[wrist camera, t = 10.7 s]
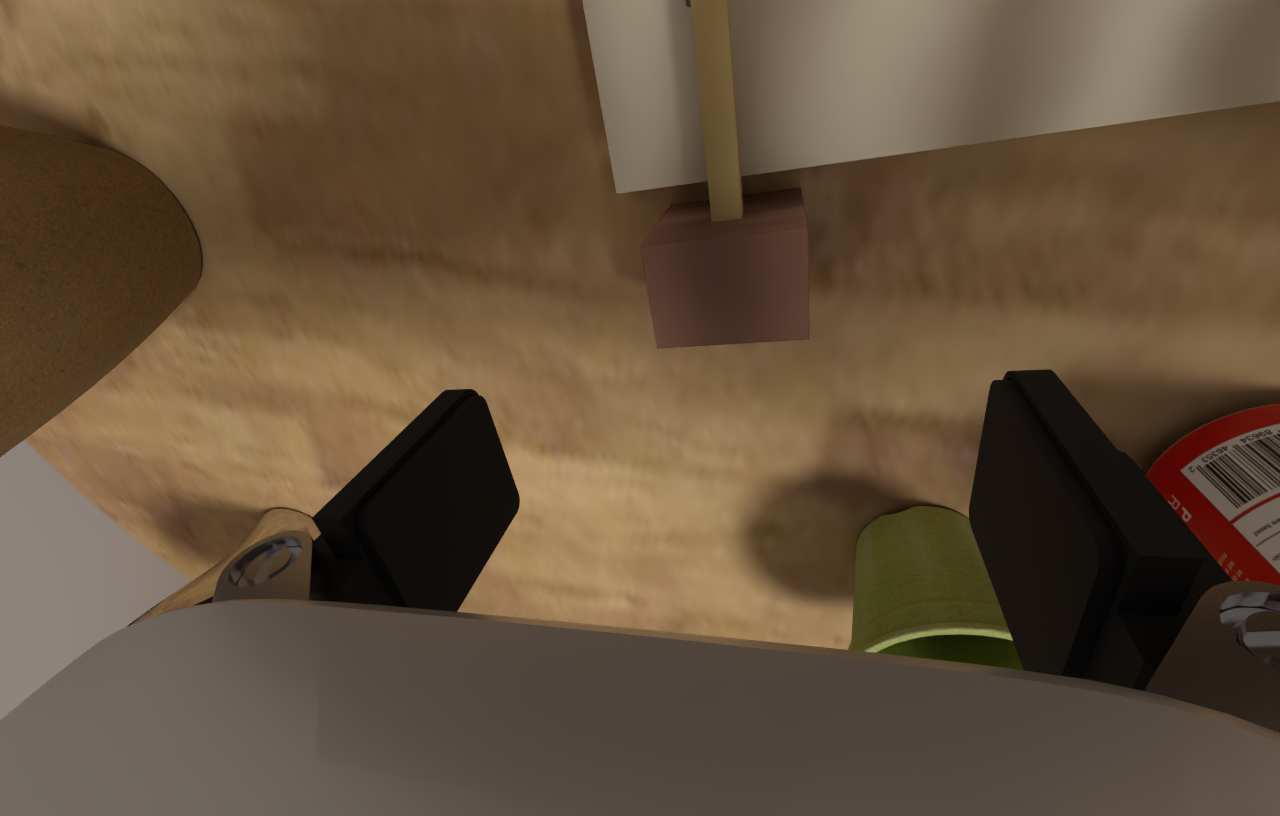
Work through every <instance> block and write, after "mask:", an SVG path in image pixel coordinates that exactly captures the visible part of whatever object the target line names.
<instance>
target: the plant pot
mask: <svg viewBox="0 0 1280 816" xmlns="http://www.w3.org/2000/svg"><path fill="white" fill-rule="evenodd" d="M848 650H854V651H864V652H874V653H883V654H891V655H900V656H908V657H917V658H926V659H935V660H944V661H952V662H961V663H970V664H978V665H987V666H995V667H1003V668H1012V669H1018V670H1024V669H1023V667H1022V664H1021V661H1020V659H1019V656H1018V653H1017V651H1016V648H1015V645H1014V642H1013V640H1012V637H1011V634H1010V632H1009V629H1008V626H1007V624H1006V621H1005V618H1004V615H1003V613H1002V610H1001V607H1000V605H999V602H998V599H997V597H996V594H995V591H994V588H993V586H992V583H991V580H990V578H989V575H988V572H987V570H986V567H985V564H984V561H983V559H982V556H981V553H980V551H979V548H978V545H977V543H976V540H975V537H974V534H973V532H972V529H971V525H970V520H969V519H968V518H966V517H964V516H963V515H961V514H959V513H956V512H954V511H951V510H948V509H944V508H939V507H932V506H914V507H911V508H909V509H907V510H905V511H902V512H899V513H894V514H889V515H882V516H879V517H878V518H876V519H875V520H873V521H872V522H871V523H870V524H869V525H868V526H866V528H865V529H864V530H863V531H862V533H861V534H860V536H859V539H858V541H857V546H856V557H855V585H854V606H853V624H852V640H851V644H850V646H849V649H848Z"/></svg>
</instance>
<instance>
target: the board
mask: <svg viewBox="0 0 1280 816" xmlns="http://www.w3.org/2000/svg"><path fill="white" fill-rule="evenodd" d="M582 2H583V7H584V13H585V19H586V24H587V30H588V36H589V41H590V47H591V53H592V58H593V64H594V70H595V75H596V81H597V87H598V92H599V98H600V104H601V109H602V115H603V121H604V126H605V132H606V137H607V143H608V149H609V154H610V160H611V166H612V171H613V177H614V183H615V188H616V194H619V193H627V192H634V191H641V190H648V189H655V188H662V187H670V186H677V185H684V184H691V183H698V182H705V181H708V179H707V169H706V158H705V148H704V137H703V127H702V117H701V106H700V96H699V86H698V75H697V65H696V54H695V44H694V34H693V23H692V13H691V7H687V6H686V1H685V0H582ZM729 6H730V21H731V36H732V51H733V66H734V80H735V95H736V110H737V125H738V139H739V154H740V169H741V176H748V175H756V174H763V173H770V172H777V171H784V170H791V169H799V168H806V167H813V166H820V165H827V164H834V163H842V162H849V161H856V160H863V159H870V158H877V157H885V156H892V155H899V154H906V153H913V152H920V151H928V150H935V149H942V148H949V147H956V146H963V145H971V144H978V143H985V142H992V141H999V140H1006V139H1013V138H1021V137H1028V136H1035V135H1042V134H1049V133H1056V132H1064V131H1071V130H1078V129H1085V128H1092V127H1099V126H1107V125H1114V124H1121V123H1128V122H1135V121H1142V120H1150V119H1157V118H1164V117H1171V116H1178V115H1185V114H1193V113H1200V112H1207V111H1214V110H1221V109H1228V108H1236V107H1243V106H1250V105H1257V104H1264V103H1271V102H1279V101H1280V0H729Z"/></svg>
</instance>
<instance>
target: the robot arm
mask: <svg viewBox="0 0 1280 816" xmlns="http://www.w3.org/2000/svg"><path fill="white" fill-rule="evenodd" d="M519 503H520V499H519V493H518V490H517V488H516V485H515V482H514V479H513V476H512V473H511V471H510V468H509V465H508V462H507V459H506V456H505V454H504V451H503V448H502V445H501V442H500V439H499V437H498V434H497V431H496V428H495V425H494V422H493V419H492V417H491V414H490V411H489V408H488V405H487V403H486V400H485V399H484V398H483V397H482V396H479V395H478V393H477V392H476V391H474V390H472V389H460V390H445V391H444V392H442V393H441V394H440V395H439V396H438V397H437V398H436V399H435V400H434V401H433V402H432V403H431V404H430V405H429V406H428V407H427V408H426V409H425V410H424V411H423V412H422V413H420V414H419V415H418V416H417V417H416V418H415V419H414V420H413V421H412V422H411V423H410V424H409V425H408V426H407V427H406V428H405V429H404V430H403V431H402V432H401V433H400V434H399V435H398V436H397V437H396V438H395V439H394V440H392V441H391V442H390V443H389V444H388V445H387V446H386V447H385V448H384V449H383V450H382V451H381V452H380V453H379V454H378V455H377V456H376V457H375V458H374V459H373V460H372V461H371V462H370V463H369V464H368V465H367V466H365V467H364V468H363V469H362V470H361V471H360V472H359V473H358V474H357V475H356V476H355V477H354V478H353V479H352V480H351V481H350V482H349V483H348V484H347V485H346V486H345V487H344V488H343V489H342V490H341V491H340V492H338V493H337V494H336V495H335V496H334V497H333V498H332V499H331V500H330V501H329V502H328V503H327V504H326V505H325V506H324V507H323V508H322V509H321V510H320V511H319V512H318V513H317V514H316V515H315V516H314V517H313V518H312V520H313V521H314V523H315V525H316V526H317V528H318V530H319V531H320V533H321V534H320V535H319V536H318V537H317V538H316V539H315V540H313V539H312V537H311V535H309V534H308V533H306V532H305V531H299V530H292V531H284V532H281V533H278V534H274V535H271V536H269V537H267V538H264V539H262V540H260V541H258V542H256V543H254V544H253V545H251V546H250V547H248V548H246V549H245V550H243V551H242V552H241V553H239V554H238V555H237V556H236V557H235V558H233V559H232V560H231V561H230V562H229V564H228V565H227V566H226V567H225V568H224V569H223V570H222V572H221V575H220V577H219V579H218V581H217V585H216V589H215V592H214V596H213V597H210V598H208V599H206V600H204V601H202V602H199V603H197V604H195V605H193V606H190V607H186V608H183V609H179V610H175V611H171V612H167V613H163V614H160V615H157V616H154V617H151V618H148V619H145V620H143V621H140V622H138V623H135V624H133V625H130V626H128V627H125V628H123V629H121V630H119V631H117V632H115V633H113V634H111V635H110V636H108V637H106V638H105V639H103V640H101V641H100V642H99V643H97V644H96V645H95V646H93V647H92V648H90V649H89V650H87V651H86V652H85V653H83V654H82V655H81V656H80V657H78V658H77V659H76V660H74V661H73V662H72V663H71V664H69V665H68V666H67V667H66V668H64V669H63V670H62V671H60V672H59V673H58V674H56V675H55V676H54V677H53V678H51V679H50V680H49V681H47V682H46V683H45V684H44V685H42V686H41V687H40V688H39V689H37V690H36V691H35V692H34V693H32V694H31V695H30V696H29V697H28V698H26V699H25V700H24V701H23V702H21V703H20V704H19V705H18V706H17V707H15V708H14V709H13V710H12V711H10V712H9V713H8V714H7V715H6V716H4V717H3V718H2V719H1V720H0V816H1280V585H1276V584H1270V583H1265V582H1259V581H1233V580H1232V579H1231V578H1230V577H1229V575H1228V574H1227V573H1226V572H1225V571H1224V569H1223V568H1222V567H1221V566H1220V565H1219V563H1218V562H1217V561H1216V560H1215V559H1214V557H1213V556H1212V555H1211V554H1210V553H1209V551H1208V550H1207V549H1206V548H1205V546H1204V545H1203V544H1202V543H1201V542H1200V540H1199V539H1198V538H1197V537H1196V536H1195V534H1194V533H1193V532H1192V531H1191V530H1190V528H1189V527H1188V526H1187V525H1186V524H1185V522H1184V521H1183V520H1182V519H1181V518H1180V516H1179V515H1178V514H1177V513H1176V512H1175V510H1174V509H1173V508H1172V507H1171V505H1170V504H1169V503H1168V502H1167V501H1166V499H1165V498H1164V497H1163V496H1162V495H1161V493H1160V492H1159V491H1158V490H1157V489H1156V487H1155V486H1154V485H1153V484H1152V483H1151V481H1150V480H1149V479H1148V478H1147V477H1146V475H1145V474H1144V473H1143V472H1142V471H1141V469H1140V468H1139V467H1138V466H1137V464H1136V463H1135V462H1134V461H1133V460H1132V459H1131V458H1130V457H1129V456H1128V455H1127V454H1126V453H1124V452H1121V451H1118V450H1117V449H1116V448H1115V447H1114V446H1113V444H1112V443H1111V442H1110V441H1109V439H1108V438H1107V437H1106V436H1105V434H1104V433H1103V432H1102V431H1101V429H1100V428H1099V427H1098V426H1097V425H1096V423H1095V422H1094V421H1093V420H1092V418H1091V417H1090V416H1089V415H1088V413H1087V412H1086V411H1085V410H1084V409H1083V407H1082V406H1081V405H1080V404H1079V402H1078V401H1077V400H1076V399H1075V397H1074V396H1073V395H1072V394H1071V392H1070V391H1069V390H1068V389H1067V388H1066V386H1065V385H1064V384H1063V383H1062V381H1061V380H1060V379H1059V378H1058V376H1057V375H1056V374H1055V373H1054V372H1053V371H1052V370H1023V371H1008V372H1007V373H1006V374H1005V376H1004V378H1003V380H994V381H993V382H992V384H991V386H990V390H989V396H988V402H987V407H986V413H985V419H984V425H983V430H982V436H981V442H980V448H979V454H978V459H977V465H976V471H975V477H974V482H973V488H972V494H971V500H970V506H969V520H970V525H971V529H972V532H973V534H974V537H975V540H976V543H977V545H978V548H979V551H980V553H981V556H982V559H983V561H984V564H985V567H986V570H987V572H988V575H989V578H990V580H991V583H992V586H993V588H994V591H995V594H996V597H997V599H998V602H999V605H1000V607H1001V610H1002V613H1003V615H1004V618H1005V621H1006V624H1007V626H1008V629H1009V632H1010V634H1011V637H1012V640H1013V642H1014V645H1015V648H1016V651H1017V653H1018V656H1019V659H1020V661H1021V664H1022V667H1023V669H1024V670H1018V669H1012V668H1003V667H995V666H987V665H978V664H970V663H961V662H952V661H944V660H935V659H926V658H917V657H908V656H900V655H891V654H883V653H874V652H864V651H854V650H844V649H834V648H824V647H814V646H805V645H795V644H785V643H775V642H765V641H755V640H745V639H735V638H726V637H716V636H706V635H696V634H686V633H675V632H665V631H655V630H644V629H634V628H624V627H613V626H603V625H592V624H582V623H571V622H561V621H550V620H540V619H529V618H518V617H508V616H496V615H485V614H474V613H463V612H457V611H458V609H459V607H460V606H461V604H462V602H463V601H464V599H465V598H466V596H467V594H468V593H469V591H470V589H471V588H472V586H473V584H474V583H475V581H476V579H477V578H478V576H479V574H480V573H481V571H482V569H483V568H484V566H485V564H486V563H487V561H488V560H489V558H490V556H491V555H492V553H493V551H494V550H495V548H496V546H497V545H498V543H499V541H500V540H501V538H502V536H503V535H504V533H505V531H506V530H507V528H508V526H509V525H510V523H511V521H512V520H513V518H514V517H515V515H516V513H517V511H518V509H519Z"/></svg>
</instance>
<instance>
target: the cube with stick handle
mask: <svg viewBox="0 0 1280 816" xmlns="http://www.w3.org/2000/svg"><path fill="white" fill-rule="evenodd" d="M685 1H686V6H687V7H691V13H692V23H693V34H694V44H695V54H696V65H697V75H698V86H699V96H700V106H701V117H702V127H703V137H704V148H705V158H706V169H707V179H708V189H709V200H705V201H697V202H689V203H681V204H674V205H671V206H670V207H669V208H668V210H667V211H666V213H665V214H664V215H663V217H662V218H661V220H660V221H659V222H658V224H657V225H656V226H655V228H654V229H653V231H652V232H651V233H650V235H649V236H648V238H647V239H646V240H645V242H644V243H643V244H642V246H641V252H642V258H643V264H644V271H645V277H646V283H647V289H648V295H649V301H650V308H651V314H652V320H653V326H654V332H655V338H656V345H657V349H658V348H674V347H690V346H706V345H723V344H739V343H755V342H771V341H788V340H804V339H809V277H808V226H807V220H806V215H805V209H804V203H803V198H802V192H801V188H797V189H789V190H782V191H774V192H766V193H759V194H751V195H743V196H742V184H741V169H740V154H739V139H738V125H737V110H736V95H735V80H734V66H733V51H732V36H731V21H730V6H729V0H685Z"/></svg>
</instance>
